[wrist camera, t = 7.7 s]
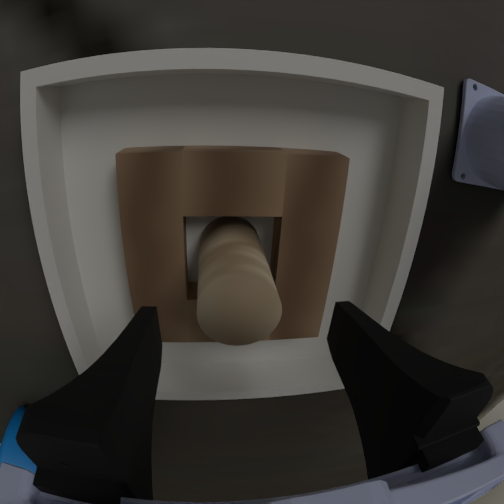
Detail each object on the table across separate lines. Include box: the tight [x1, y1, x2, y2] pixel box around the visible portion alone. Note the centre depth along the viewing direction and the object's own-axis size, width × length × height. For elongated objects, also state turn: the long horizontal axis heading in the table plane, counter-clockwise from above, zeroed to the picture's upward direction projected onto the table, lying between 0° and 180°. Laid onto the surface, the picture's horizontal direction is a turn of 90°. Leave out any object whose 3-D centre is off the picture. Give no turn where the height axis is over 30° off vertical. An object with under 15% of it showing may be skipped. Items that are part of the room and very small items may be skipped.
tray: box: [20, 48, 444, 400], centre depth 19 cm, size 22×22×4 cm
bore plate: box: [115, 145, 350, 342], centre depth 19 cm, size 12×12×2 cm
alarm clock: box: [0, 406, 37, 474], centre depth 21 cm, size 13×6×15 cm, turn 148°
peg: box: [197, 216, 282, 346], centre depth 17 cm, size 4×4×7 cm
